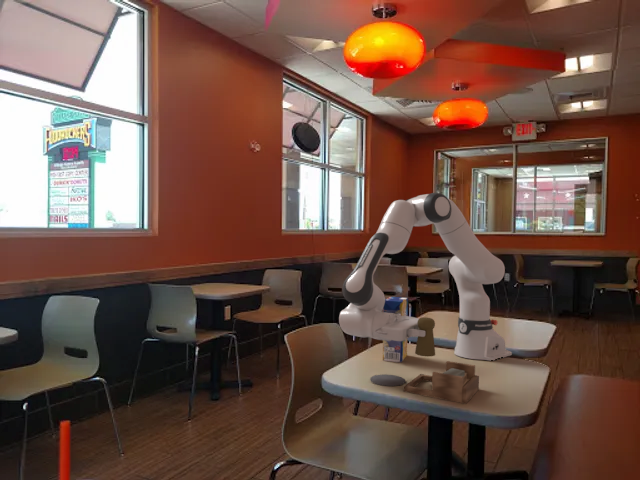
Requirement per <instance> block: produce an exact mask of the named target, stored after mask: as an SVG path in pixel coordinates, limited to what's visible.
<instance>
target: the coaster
mask: <svg viewBox="0 0 640 480" xmlns="http://www.w3.org/2000/svg"><path fill="white" fill-rule="evenodd" d="M370 382H371V383H372V384H375V385H379V386H383V387H397V386H403V385H405V383H406V379H405V378H404V377H401V376H399V375H394V374H387V373H386V374H376V375H373V376H371V377H370Z"/></svg>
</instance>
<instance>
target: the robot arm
mask: <svg viewBox="0 0 640 480" xmlns="http://www.w3.org/2000/svg"><path fill="white" fill-rule="evenodd" d="M432 224H433V225H434V227H435V228H436V230H437V233H438V235H439V236H440V238H441V240H442V241H443V243H444V245H445V247H446V248H447V250H448V251H449V252H450V253H452V255H453V256H452V257H451V258H450V260H449V262H448V271H449V274H451V275H452V277H453V279H454V282H455V283H456V288H457V291H458V295H459V297H458V298H459V299H458V300H459V317H458V319H457V326H458V331H457V334H456V335H457V336H456V343H455V347H454V352H453V353H454V355H456V356H457V357H461V358H466V359H472V360H484V361H491V360H493V361H496V360H495V359H497V358H500V357H503V358H507V357H510V356H512V355H513V352H512V351H510V350H508V349H506V341H505V338H504V337H502V335H500V334H499V332H497V331H496V330H495V329H494V327H493V325H494V326H497V325H498V322H499V321H498V320H497V319H490V315H491V314H490V312H491V310H490V309H491V301H490V297H489V296H488V295H487V293H486V291H485V289H484V286H483V285H492V284H497V283H499V282H501V281H502V279H503V278H504V276H505V273H506V271H505V269H506V267H505V264H504V262H503V261H502V260H501V259H500V258H498V257H497V256H496V255H494V254H492V253H491V251H489V250H488V248H486V246H485V245H484V244H483V243H482V242H481V241H480V240H479V239H478V237H477V236H476V235H475V233H474V232H473V230H472V228H471V227H470V224H469V223H468V221H467V219H466V217H465V216H464V214H463V212H462V211H461V210H460V208H459V206H457V204H456V203H455V202H454V201H453V200H452V199H450V198H448V197H447V196H446V195H445V194H443V193H441V192H432V193H426V194H420V195H417V196H414V197H411V198H408V199H405V200H404V199H398V200H394V201H393V202H391V204H390V205H389V206H388V208H387V210H386V212H385V213H384V215H383V217H382V219H381V222H380V224H379V227H378V229H377V230H376V233H374V234H373V236H371V238H369V240H368V242H367V244H366V246H365V248H364V250H363V251H362V254H361V255H360V258H359V260H358V261H357V263H356V266H355V267H354V269H353V270H351V272H350V273H349V275H348V276H347V277H346V278H345V279H344V281H343V284H342V288H341V289H342V295H343V297H344V299H345V300H346V301H347V302H348V303H349V304H348V306H346V307H345V308H344V309H342V310H341V311H340V312H339V316H338V324H339V327H340V329H341V331H342V332H344V333H345V334H347V335H350V336H352V337H354V336H355V337H359V338H372V339H374V340H378V341H383V340H384V341H391V340H393V341H404V340H406V339H407V340H408V339H409V338H411V337H414V338H415V337H416V338H417V337H418V336H421V337H425V336H426V330H419V327H418V324H417V322H418V320H419V319H420V318H417V317H414V316H409V315H408V316H401V314H400V313H386V312H384V305H385V299H386V296H385V294H384V291H383V290H382V289H381V288H380V287H379V286H378V285H376V283H375V282H374V274H375V272H376V270H377V268H378V266H379V264H380V261H381V260H382V258H383V257H384V256H385V255H386V254H387V255H388V254H389V255H395V254H399V253H400V252H402V251H403V250H404V249H405V248H406V246H407V244H408V242H409V239H410V237H411V235H412V231H413V228H414V227H427V226H428V225H432ZM500 359H501V358H500ZM497 360H498V359H497Z"/></svg>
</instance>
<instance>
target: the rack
mask: <svg viewBox="0 0 640 480" xmlns="http://www.w3.org/2000/svg"><path fill="white" fill-rule="evenodd" d="M431 374H432V375H429V374H423V373H420V374H418V375H417V376H416V377H414V378H413V379H411V380H410V381H409V382H408V383H406V384H404V386H403V392H406V393H409V394H415V395H421V396H424V397H425V396H426V397H430V398H434V399H440V400H445V401H449V402H456V403H461V404H465V405H466V404H467V403H468V402H469V401H470V400H471V398H473V397H474V395H475V394H476V393H477V392H478V391H479V389H480V375H476V365H475V364H468V363H462V362H456V361H449V360H448V361H446V362H445V371H443V372H438V371H433V372H432V373H431ZM423 381H426V382H431V389H426V388H421V387H418V386H417V385H419V384H420V383H421V382H423ZM416 386H417V387H416Z"/></svg>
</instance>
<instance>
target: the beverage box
mask: <svg viewBox="0 0 640 480" xmlns="http://www.w3.org/2000/svg"><path fill="white" fill-rule="evenodd" d="M383 312H386V313H400V314H401V316H409V298H408V297H402V296H398V297H397V296H388V297H387V298H385V305H384V308H383ZM407 356H408V338H407V339H406V340H404V341H393V340H391V341H384V340H382V361H385V362H394V363H402V362H403V361H405V360H404V359H405V358H406V357H407Z"/></svg>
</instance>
